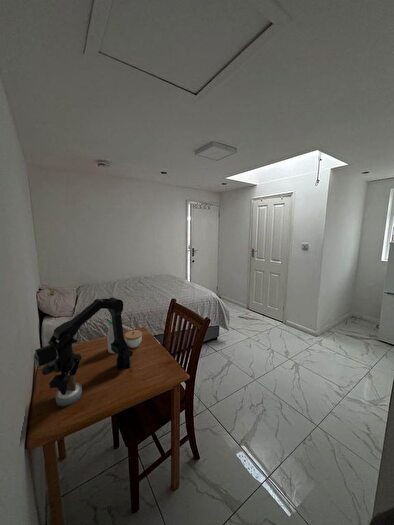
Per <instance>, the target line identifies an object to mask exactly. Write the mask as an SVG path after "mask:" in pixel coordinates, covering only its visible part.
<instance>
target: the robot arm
mask: <svg viewBox="0 0 394 525" xmlns="http://www.w3.org/2000/svg"><path fill="white" fill-rule="evenodd" d="M102 309H106V310H107V311H108V312H109V314H110V316H111V319H112V325H113V333H114V342H113V343H111V350H112V351H113V352H114V353H113V354H115V355H117V357H116V366H117V370H123V369H124V370H125V369H129V368H131V364H132V359H131V357H132V356H133V353H134V352H133V350H130V349H129V348H130V347H129V346H128V345H127V343H126V341H125V334H124V327H123V319H122V318H123V317H122V313H123V311H124V302H123V300H122V299H119V298H118V297H113V296H111V297H109V298H96V299H94V300H93V302H92V303H90V304H89V305H88V306H87V307H85V309H83V310H81V312H79V313H78V314H77V315H76V316H74V317H73V318H71V319H70V320H68V321H65V322H63V323H61V324H60V325H58V326H56V328H54V330H53V334H52V336H51V338H50V339H49V340H48V342H47V343H48V345H47V346H43V347H40V348H37V349H35V350H34V351H35V352H34V354H33V355H34V356H33V359H34V364H35V366H36V367H37V368H40V367H42V366H43V367H42V369H41V374H42V375H43V376H48V375H50V374H51V373H54V372H55V373H59V372H60V374H56V375H54V376H53V377H52V378H51V379H50V381H49V382H48V388H50V389H58V390H59V391H60V392H61V394H62V395H65V394H66V391H67V388H68V385H69V381H70V380H69V375H75V376H76V374H77V371H78V369H79V367H80V363H81V362H82V355H81V354H80V353H75V352H74V351H73V350H74V349H73V346H72V344H76V343H77V342H78V340H77V339H76V338H74V337H75V335H77V334H78V331H79V329H80V328H81V327H82V326H83V325H85V323H87V321H89V320H90V319H91V318H92V317H94V316H95V315H96V314H97V313H98V312H99V311H100V310H102ZM57 341H58V342H57ZM57 357H58V358H57ZM56 358H57V359H56Z"/></svg>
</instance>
